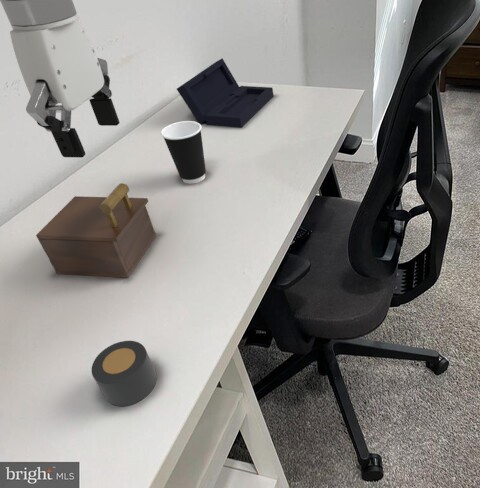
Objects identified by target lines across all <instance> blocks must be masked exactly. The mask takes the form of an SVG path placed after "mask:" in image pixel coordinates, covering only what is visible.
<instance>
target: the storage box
mask: <svg viewBox="0 0 480 488" xmlns="http://www.w3.org/2000/svg"><path fill="white" fill-rule="evenodd" d="M176 91H177V92H178V94H179V95H180V97H181V99H182V100H183V102H184V104H186V106H187V108H188V109H189V110H190V112H191V114H192V115H193V117H194V118H195V120H196V122H197V123H199V124H200V125H201V124H202V123H205V122H206V125H207V126H217V127H231V128H243V127H244V126H245V125H246V124H247V123H248V122H249V121H250V120H251V119H252V118H253V117H254V116H255V115H256V114H258V112H259V111H261V109H262V108H263V107H265V105H267V103H268V102H269V101H270V100H271V99H272V98H274V96H275V95H274V89H273V86H272V87H270V86H249V85H239V84H238V82H237V80H236V78H235V77H234V75H233V74H232V72H231V70H230V68H229V67H228V65H227V64H226V61H225V60H224V59H223V58H222V57H221V58H220V59H218V60H217V61H215V62H213V63H212V64H210V65H209V66H208V67H206V68H205V69H203V70H202V71H200V72H198V73H197V74H196V75H195V76H193V77H192V78H190V79H188V80H187V81H186V82H184V83H183V84H181V85H180V86H179V87H177V88H176Z"/></svg>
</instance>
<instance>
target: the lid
mask: <svg viewBox="0 0 480 488" xmlns="http://www.w3.org/2000/svg"><path fill="white" fill-rule="evenodd" d="M129 192H130V187H129V186H128V185H127V184H126V183H123V182H121V183H119V184H118V185H117V186H116V187H115V188H114V189H113V190H112V191H111V192H110V193H109V195H108V196H77V195H76V196H75V195H74V196H73V197H72V198H71V200H69V201H68V202H67V203H66V204H65V205H64V206H63V208H61V209H60V211H58V213H57V214H55V215H54V216H53V218H51V219H50V221H48V222H47V224H45V225H44V226H43V227H42V228H41V229H40V230H39V231H38V233H37V234H36V235H35V236H36V238H37V239H60V240H85V241H110V242H118V240H119V239H120V238H121V237H122V235H123V234H124V233H125V231H126V230H127V229H128V227H129V226H130V225H131V224H132V222H133V221H134V220H135V218H136V217H137V216H138V214H139V213H140V212H141V211H142V209H143V208H144V207H145V205H148V203H149V199H148V197H129V195H128V193H129Z"/></svg>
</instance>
